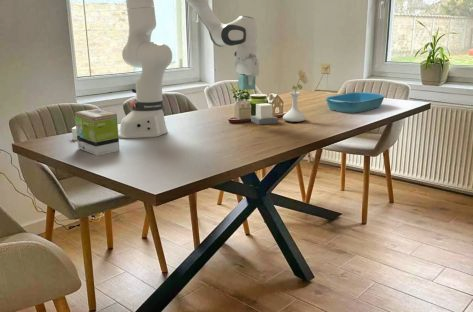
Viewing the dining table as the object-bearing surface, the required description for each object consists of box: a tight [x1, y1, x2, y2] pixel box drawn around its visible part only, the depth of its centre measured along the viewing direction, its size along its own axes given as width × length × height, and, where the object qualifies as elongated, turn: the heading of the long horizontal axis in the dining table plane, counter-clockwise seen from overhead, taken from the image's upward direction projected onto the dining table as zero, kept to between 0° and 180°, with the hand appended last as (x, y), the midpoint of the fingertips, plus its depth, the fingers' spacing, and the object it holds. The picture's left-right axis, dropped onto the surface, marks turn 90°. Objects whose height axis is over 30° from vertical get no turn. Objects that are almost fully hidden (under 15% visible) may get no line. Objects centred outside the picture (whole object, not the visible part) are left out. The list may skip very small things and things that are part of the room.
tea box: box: [74, 108, 121, 157], centre depth 183 cm, size 15×10×15 cm, turn 45°
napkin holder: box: [71, 125, 77, 141], centre depth 207 cm, size 15×11×6 cm
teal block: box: [237, 74, 257, 91], centre depth 223 cm, size 6×6×6 cm
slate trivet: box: [249, 114, 279, 125], centre depth 234 cm, size 10×10×2 cm
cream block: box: [255, 102, 274, 118], centre depth 233 cm, size 6×6×6 cm
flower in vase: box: [282, 68, 309, 123], centre depth 233 cm, size 13×11×25 cm
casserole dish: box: [325, 91, 385, 114], centre depth 267 cm, size 37×22×7 cm, turn 133°
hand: (246, 84), depth 223 cm, fingers closed on teal block, 6 cm apart
